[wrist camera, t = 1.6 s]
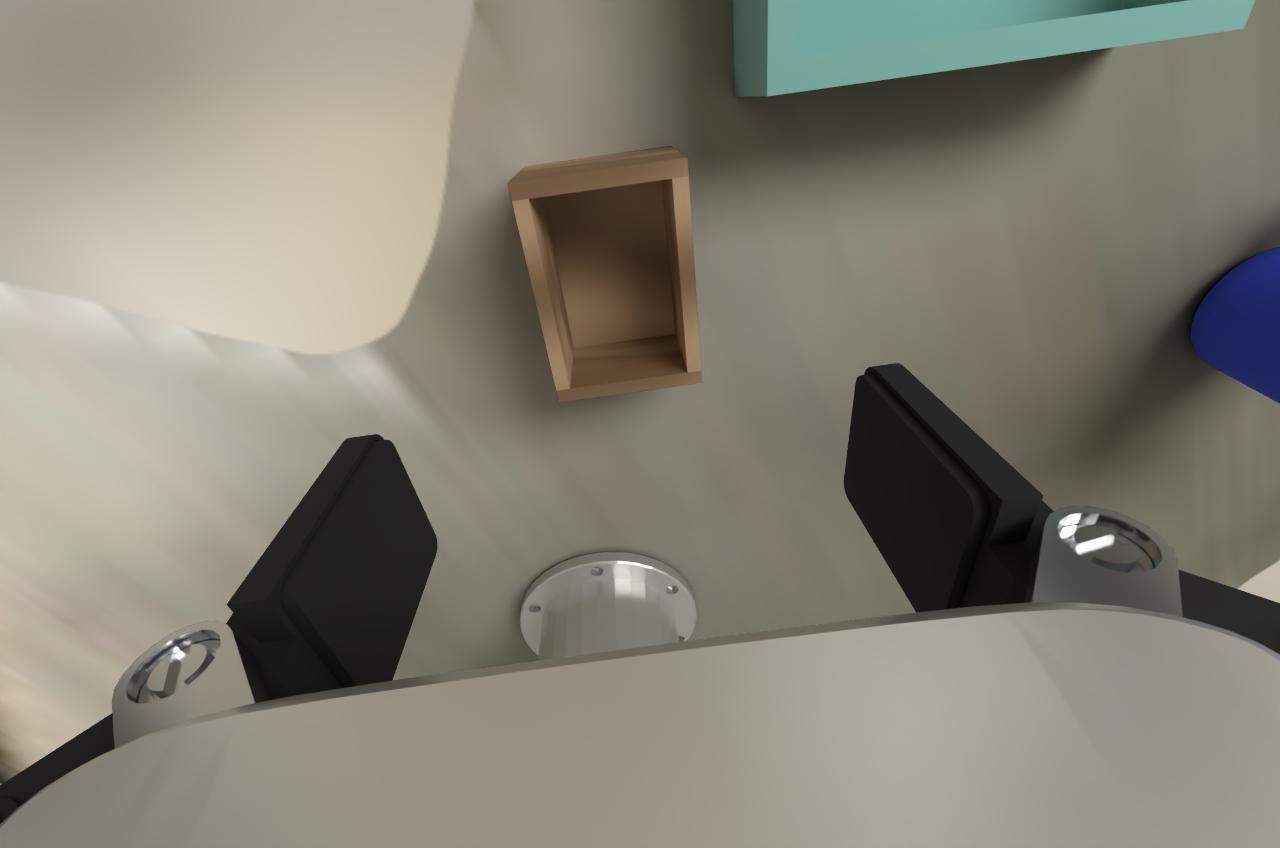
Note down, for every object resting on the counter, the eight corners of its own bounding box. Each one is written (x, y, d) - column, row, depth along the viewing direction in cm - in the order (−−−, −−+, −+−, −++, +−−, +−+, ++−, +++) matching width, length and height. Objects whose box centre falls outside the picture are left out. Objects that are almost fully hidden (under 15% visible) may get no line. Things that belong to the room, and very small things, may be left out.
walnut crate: (686, 338, 27) (701, 382, 23) (565, 355, 28) (559, 402, 23) (671, 146, 23) (687, 157, 18) (524, 166, 23) (507, 183, 18)
